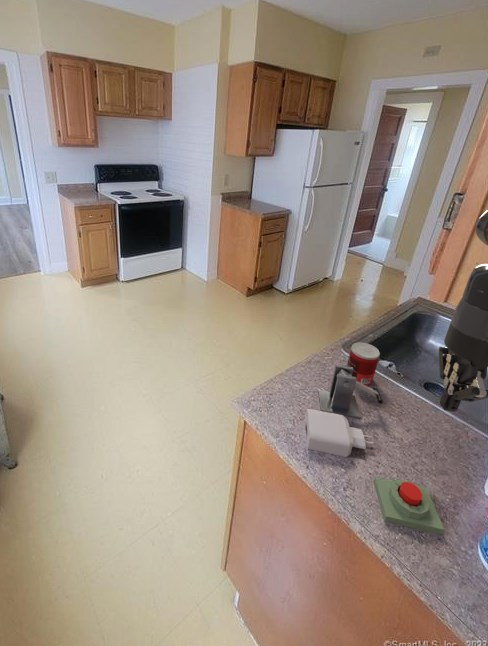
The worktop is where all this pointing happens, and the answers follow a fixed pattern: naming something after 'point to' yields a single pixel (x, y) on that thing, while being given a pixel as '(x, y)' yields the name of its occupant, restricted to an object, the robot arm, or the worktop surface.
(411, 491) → the button
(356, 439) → the charger
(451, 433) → the worktop surface
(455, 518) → the worktop surface
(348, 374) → the tap lever
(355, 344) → the canned food
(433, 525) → the button box
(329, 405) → the tap bracket
